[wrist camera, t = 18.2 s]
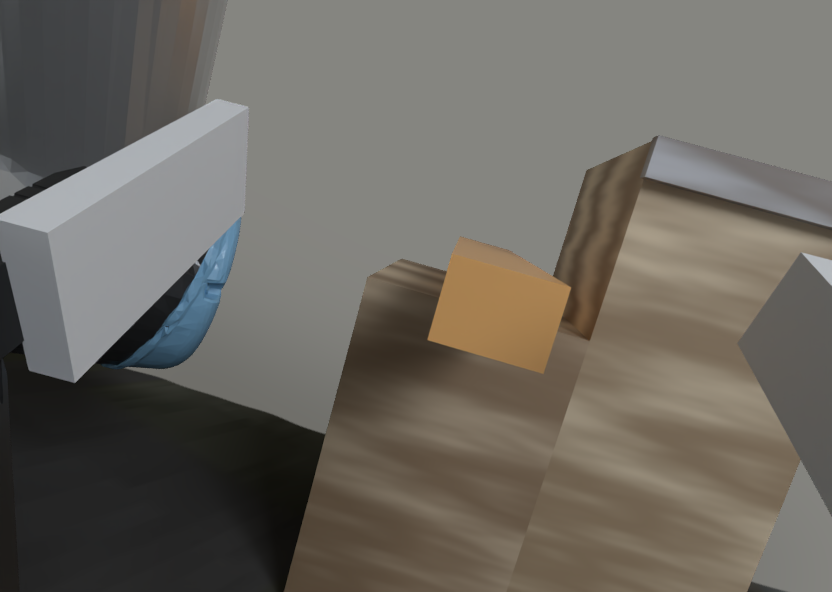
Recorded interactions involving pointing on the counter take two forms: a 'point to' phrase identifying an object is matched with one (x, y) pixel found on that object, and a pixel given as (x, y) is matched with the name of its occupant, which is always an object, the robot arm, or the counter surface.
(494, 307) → the orange box
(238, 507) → the counter surface
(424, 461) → the wooden stepped block
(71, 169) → the robot arm
